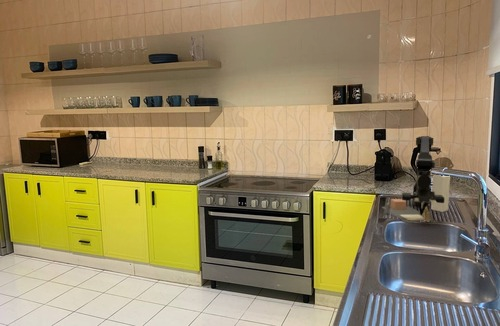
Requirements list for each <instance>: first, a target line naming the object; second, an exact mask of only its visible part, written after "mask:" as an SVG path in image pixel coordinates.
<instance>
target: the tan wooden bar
mask: <svg viewBox="0 0 500 326" xmlns="http://www.w3.org/2000/svg"><path fill="white" fill-rule="evenodd" d="M421 208H422V207H421ZM431 214H432V213H431V211H430V210H429V209H428V207H426V208H425V210H424V212H423V214H422V216H423V217H424V219H425V220H426V221H429V222H428V223H431V222H430V218H432V217H431V216H432V215H431Z"/></svg>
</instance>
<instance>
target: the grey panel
mask: <svg viewBox="0 0 500 326" xmlns="http://www.w3.org/2000/svg"><path fill="white" fill-rule="evenodd" d="M381 208H382V210H383V209H384V211H386V206H381ZM389 214H391V215H393V216H395V217H396V218H397V219H399V220H400V219H401V220H400V221H402V222H403V223H405V224H406V223H409V224H410V223H421V222H420V220H425V219H424V217H423V216H422V215H420V211H419V210H416V209H415V208H412V206H406V210H394V209H393V208H391V206H390V213H389ZM408 220H410V221H408ZM430 221H431V222H430V223H438V222H437V220H436V219H434V218H432V217H430ZM434 221H435V222H434Z"/></svg>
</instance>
